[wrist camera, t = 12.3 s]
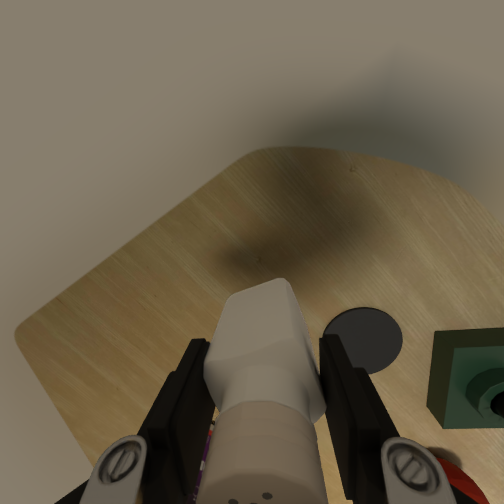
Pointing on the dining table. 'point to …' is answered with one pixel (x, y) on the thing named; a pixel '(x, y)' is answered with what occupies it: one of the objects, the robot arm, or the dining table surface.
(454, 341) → the green square nut
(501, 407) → the black push button
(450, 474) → the fruit
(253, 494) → the salt shaker
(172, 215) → the dining table surface
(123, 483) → the robot arm
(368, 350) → the coaster
